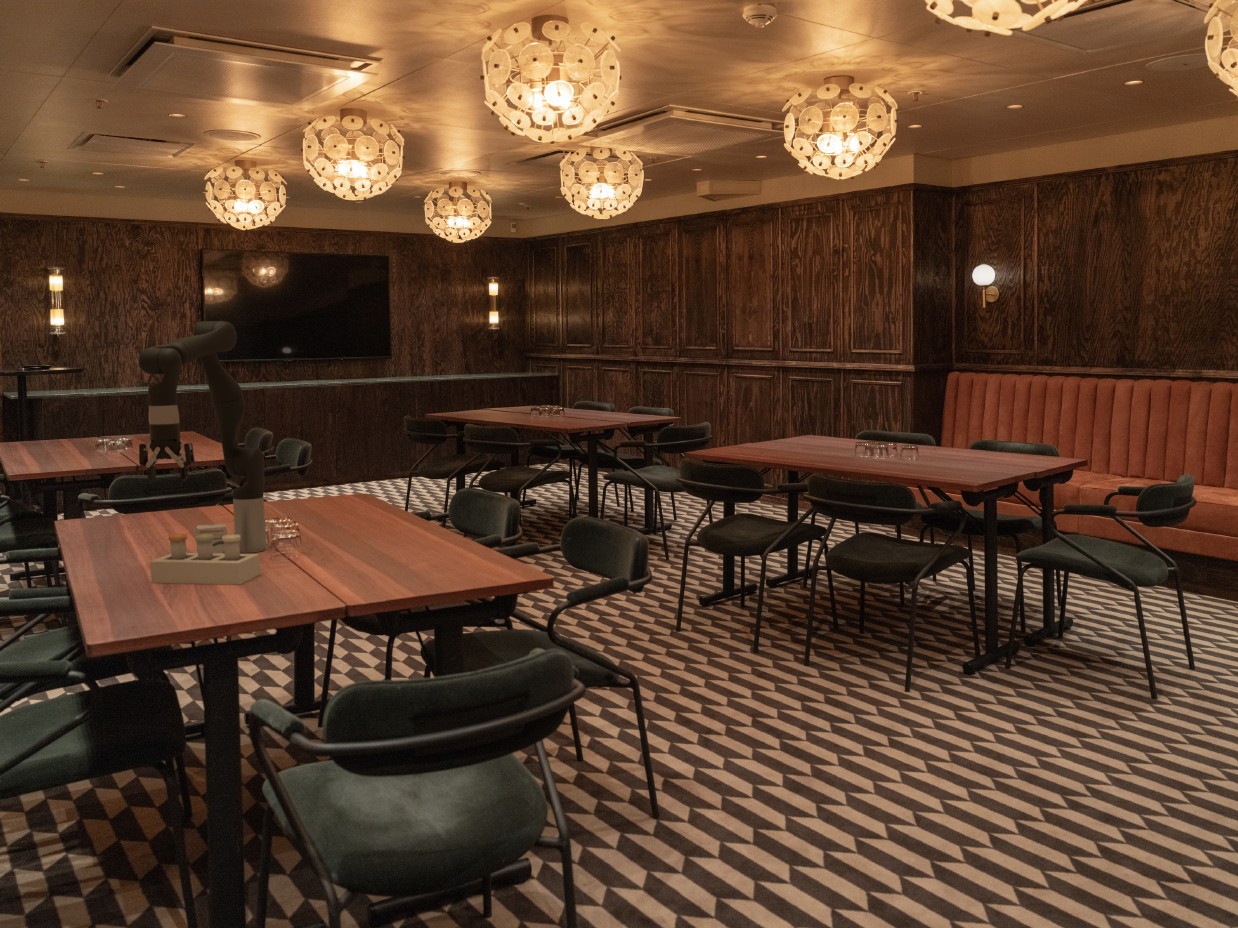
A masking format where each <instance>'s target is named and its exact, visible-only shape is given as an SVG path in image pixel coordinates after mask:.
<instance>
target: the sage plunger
mask: <svg viewBox="0 0 1238 928" xmlns="http://www.w3.org/2000/svg"><path fill="white" fill-rule="evenodd" d="M213 539H214V536H213V534H201V535H196V534H195V536H194V540H195V542H196V541H197V542H196V552H197V551H198V560H212V559H213V545H212V540H213Z"/></svg>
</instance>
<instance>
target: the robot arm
mask: <svg viewBox="0 0 1238 928" xmlns="http://www.w3.org/2000/svg"><path fill="white" fill-rule="evenodd" d="M192 334H193V335H191V336H185V337H181V338H178V339H176V340H173V341H171V342H169V343H166V344H160V345H154V346H151V347H148V348H145V349H143V350H142V351H141V352H140V354H139V356H138V362H137V363H138V366H139V368H140V369H141V371H142V372H144V373H145V374H148V375H162V379H161V380H160V382H157V383H153V384H152V383H151V384H150V385H149V386H148V389H147V394H148V405H149V406H148V425H149V426H148V428H149V439H150V443H147V442H142V443H140V444H138V448H139V449H138V455H139V457H138V459H139V460H138V464H139V466H143V467H145V468H146V471H147V478H148V480H149V481H150V482H155V481H156V480H157V472H156V470H157V469H156V466H155V465H156V464H157V463H158V462H159V461H160V460H164V459H166V460H173V461H174V462H176V463H177V464H178V466H179V477H180V479H179V480H180V482H185V481H187V479H188V478H189V469H188V468H189V466H191V465H192V466H193V465H194V464H195V463H196V462H195V454H194V453H195V452H194V446H193V443H192V442H188V443H187V442H186V443H182V442H181V425H180V413H179V407H178V406H179V405H178V399H177V398H178V394H177V390H178V384H179V378H180V374H181V370H182V367H183V366H185V365H187V364H189V363H190V364H191V362H194V361H196V360H198V359H200V362H201V365H202V368H203V371H204V374H205V378H206V381H207V385H208V389H209V394H210V399H211V400H210V401H211V403H212V407H213V411H214V415H215V418H216V421H217V426H218V431H219V434H220V440H221V447H222V453H223V461H224V465H225V469H226V471H227V473H228V474H229V475H230V477H240V478H241V477H242V478H243V477H244V478H247V482H245V484H244V485H241V486H239V487H237V488H236V487H235V488H234V489H232V502H233V504H232V505H233V521H234V522H233V523H234V524H233V525H234V534H238V535H240V539H241V540H239V549H240V554H253V553H258V552H263V551H266V550H267V547H268V546H267V530H266V529H267V527H266V519H265V500H264V499H265V498H264V497H265V496H264V491H265V457H264V452H263V451H262V450H261V449H260V448H258V447H240V445H239V441H238V431H239V429H240V426H241V424H242V421H243V420H244V417H245V414H246V410H247V409H246V408H247V407H246V402H245V397H244V394H243V393H244V392H243V390H242V388H241V386H240V384H239V383H238V381H237V380H235V379H234V377H233V376H232V375H231V374H230V373H229V372H228V371H227V370H226V369H225V368H224V366H223V365H222V364H221V361H220V359H219V357H218V354H217V353H226V352H229V351H232V349H234V348H235V347H236V344H237V340H238V337H237V336H238V335H237V331H236V328H235V326H234V325H233V324H232V323H231V322H228V321H225V320H214V321H213V320H212V321H210V320H209V321H206V320H204V321H197V322H196V323H195V325H194V326H193V333H192ZM150 450H151V452H152V454H151V455H150V457H149V451H150ZM181 450H182V451H184V455H183V454H182V453H181Z"/></svg>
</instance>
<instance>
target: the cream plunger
mask: <svg viewBox="0 0 1238 928" xmlns="http://www.w3.org/2000/svg"><path fill="white" fill-rule="evenodd" d="M239 540H241V539H240V535H238V534H235V533H232V534H227V535H224V536H222V541H223V542H224V554H225V561H238V560H240V554H241V553H240V549H239Z"/></svg>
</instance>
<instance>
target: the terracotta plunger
mask: <svg viewBox="0 0 1238 928" xmlns="http://www.w3.org/2000/svg"><path fill="white" fill-rule="evenodd" d="M167 539H168V541H169V542H170V543H169V544H170V546H169V547H170V554H171V560H184V559H186V558H187V555H186V553H187V543H186V540H187V539H188V535H187V533H173V534H168V536H167Z"/></svg>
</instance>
